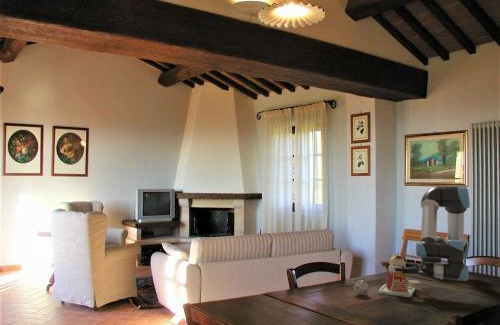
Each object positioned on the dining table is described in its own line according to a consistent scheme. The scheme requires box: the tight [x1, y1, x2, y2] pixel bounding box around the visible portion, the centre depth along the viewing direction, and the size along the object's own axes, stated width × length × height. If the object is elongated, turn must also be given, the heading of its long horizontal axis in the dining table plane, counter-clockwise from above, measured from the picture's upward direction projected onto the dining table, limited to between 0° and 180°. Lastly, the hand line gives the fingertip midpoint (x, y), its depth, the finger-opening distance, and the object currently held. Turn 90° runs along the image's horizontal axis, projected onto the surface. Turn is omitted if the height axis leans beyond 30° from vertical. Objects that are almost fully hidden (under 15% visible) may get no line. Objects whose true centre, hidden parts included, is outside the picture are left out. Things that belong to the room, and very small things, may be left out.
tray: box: [378, 283, 416, 298], centre depth 235 cm, size 16×16×2 cm
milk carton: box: [386, 252, 409, 293], centre depth 236 cm, size 9×9×20 cm
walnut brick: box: [416, 287, 430, 300], centre depth 225 cm, size 4×4×4 cm
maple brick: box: [407, 279, 421, 291], centre depth 243 cm, size 5×5×4 cm
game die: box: [351, 278, 372, 297], centre depth 228 cm, size 9×8×10 cm
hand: (390, 266), depth 237 cm, fingers open, 13 cm apart
